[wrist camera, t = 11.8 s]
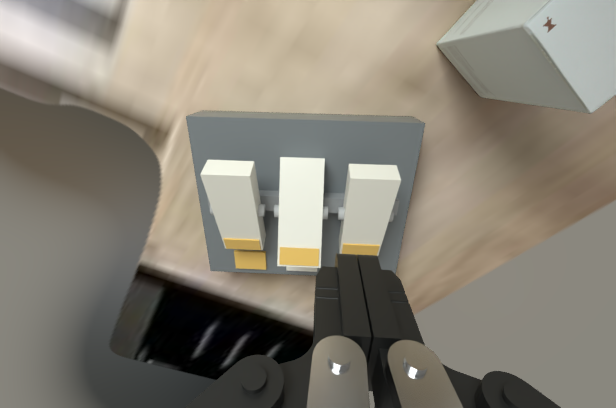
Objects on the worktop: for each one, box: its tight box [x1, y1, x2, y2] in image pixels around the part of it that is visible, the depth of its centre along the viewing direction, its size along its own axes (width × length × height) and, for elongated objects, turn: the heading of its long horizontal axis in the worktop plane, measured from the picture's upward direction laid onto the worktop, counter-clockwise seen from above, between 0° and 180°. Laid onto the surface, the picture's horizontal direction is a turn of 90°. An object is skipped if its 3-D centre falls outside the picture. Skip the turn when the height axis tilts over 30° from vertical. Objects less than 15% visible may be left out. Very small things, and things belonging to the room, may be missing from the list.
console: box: [186, 111, 425, 276], centre depth 31 cm, size 18×22×5 cm
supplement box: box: [436, 0, 616, 113], centre depth 20 cm, size 7×7×13 cm
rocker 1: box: [200, 160, 266, 250], centre depth 27 cm, size 10×5×2 cm, turn 178°
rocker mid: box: [274, 157, 328, 268], centre depth 26 cm, size 10×5×2 cm, turn 179°
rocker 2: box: [338, 164, 401, 256], centre depth 26 cm, size 10×5×2 cm, turn 178°
